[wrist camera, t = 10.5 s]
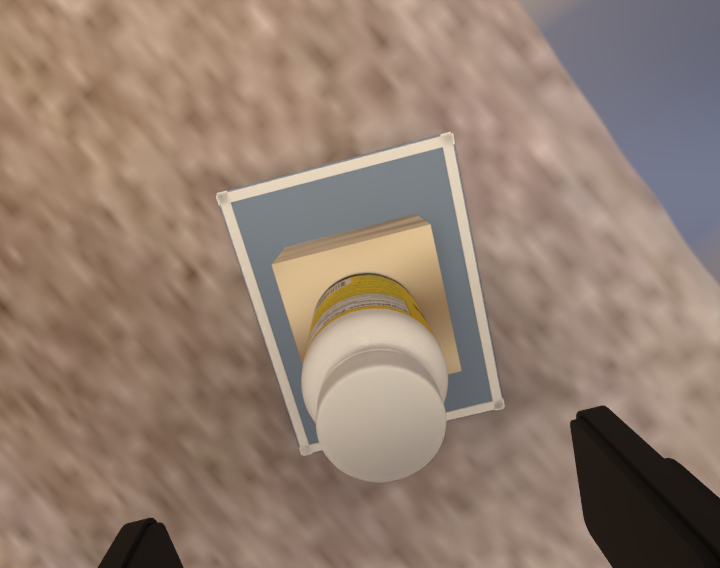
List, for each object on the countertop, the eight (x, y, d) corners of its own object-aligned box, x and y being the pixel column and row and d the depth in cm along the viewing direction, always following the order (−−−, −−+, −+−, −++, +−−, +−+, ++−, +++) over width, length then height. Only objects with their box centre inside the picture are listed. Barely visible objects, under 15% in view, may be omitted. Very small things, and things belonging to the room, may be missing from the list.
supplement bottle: (415, 371, 24) (458, 507, 14) (311, 367, 24) (287, 502, 14) (424, 271, 22) (479, 348, 13) (315, 265, 22) (290, 340, 13)
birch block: (285, 247, 27) (271, 264, 22) (415, 213, 27) (430, 224, 22) (320, 366, 29) (315, 406, 24) (442, 336, 29) (461, 371, 24)
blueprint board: (220, 192, 27) (215, 193, 26) (448, 132, 27) (452, 131, 25) (303, 446, 32) (301, 456, 31) (499, 399, 31) (505, 408, 30)
